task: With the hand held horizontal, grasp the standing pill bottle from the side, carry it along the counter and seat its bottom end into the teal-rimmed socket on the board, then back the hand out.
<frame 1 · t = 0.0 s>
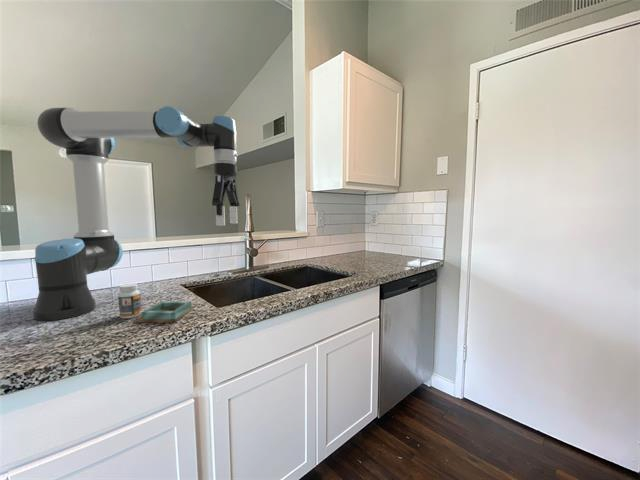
hand: (227, 224, 102), 28 cm above the worktop, tool pointing down, fingers open, 13 cm apart
pill bottle: (130, 316, 90), on the worktop
socket board: (165, 316, 90), on the worktop
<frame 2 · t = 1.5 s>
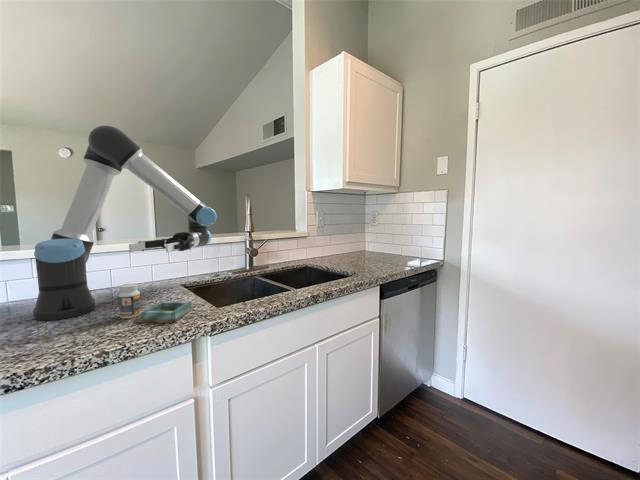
hand: (148, 248, 97), 20 cm above the worktop, tool horizontal, fingers open, 13 cm apart
nothing on the worktop moved.
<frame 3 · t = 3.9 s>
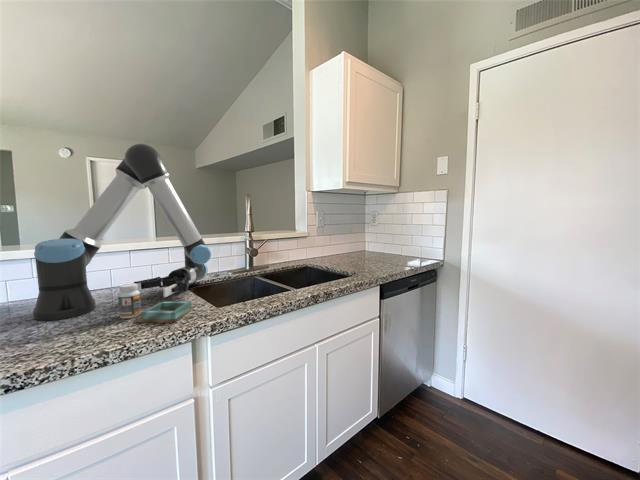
hand: (145, 292, 95), 6 cm above the worktop, tool horizontal, fingers open, 13 cm apart
nothing on the worktop moved.
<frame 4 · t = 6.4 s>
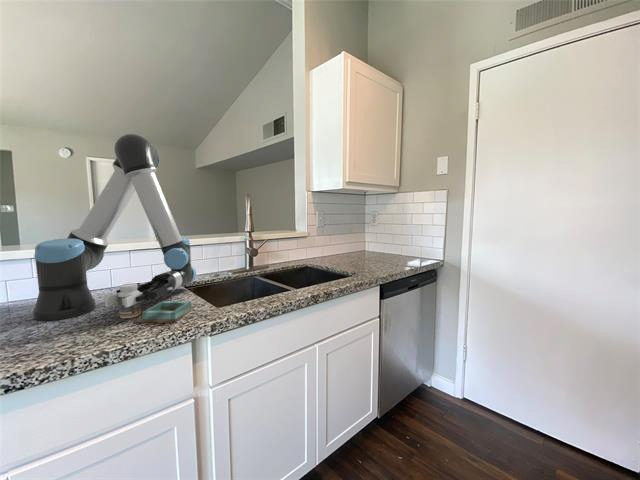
hand: (116, 302, 84), 6 cm above the worktop, tool horizontal, fingers closed on pill bottle, 6 cm apart
pill bottle: (130, 316, 90), on the worktop, touching gripper
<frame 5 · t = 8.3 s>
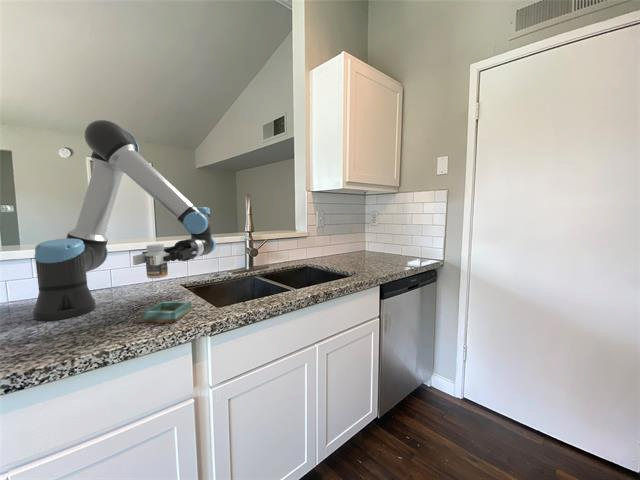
hand: (144, 260, 83), 18 cm above the worktop, tool horizontal, fingers closed on pill bottle, 6 cm apart
pill bottle: (157, 277, 89), point 12 cm above the worktop, touching gripper
when the fingers open (8 cm above the worktop, at t = 10.7 s): pill bottle drops 1 cm, resting on socket board.
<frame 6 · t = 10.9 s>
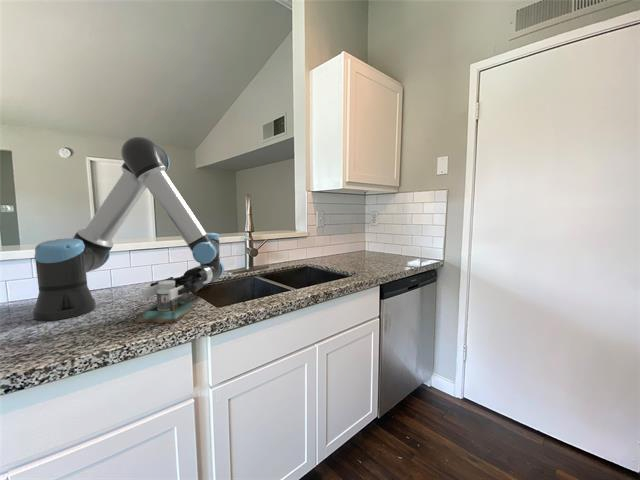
hand: (156, 295, 84), 8 cm above the worktop, tool horizontal, fingers open, 8 cm apart
pill bottle: (168, 313, 90), point 1 cm above the worktop, touching socket board
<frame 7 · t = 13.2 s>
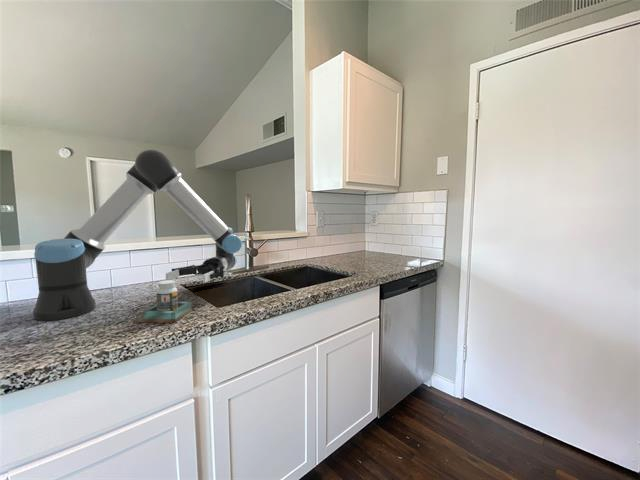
hand: (185, 278, 98), 10 cm above the worktop, tool horizontal, fingers open, 13 cm apart
nothing on the worktop moved.
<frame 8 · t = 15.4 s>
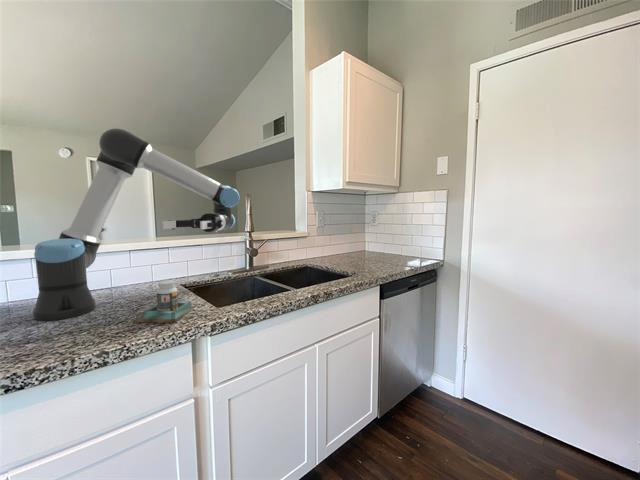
hand: (182, 225, 96), 28 cm above the worktop, tool horizontal, fingers open, 13 cm apart
nothing on the worktop moved.
at the end: pill bottle 0.1 cm from the target spot on the socket board, point 0.9 cm above the socket board's base; pill bottle tilted 1°; the gripper is holding nothing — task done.
